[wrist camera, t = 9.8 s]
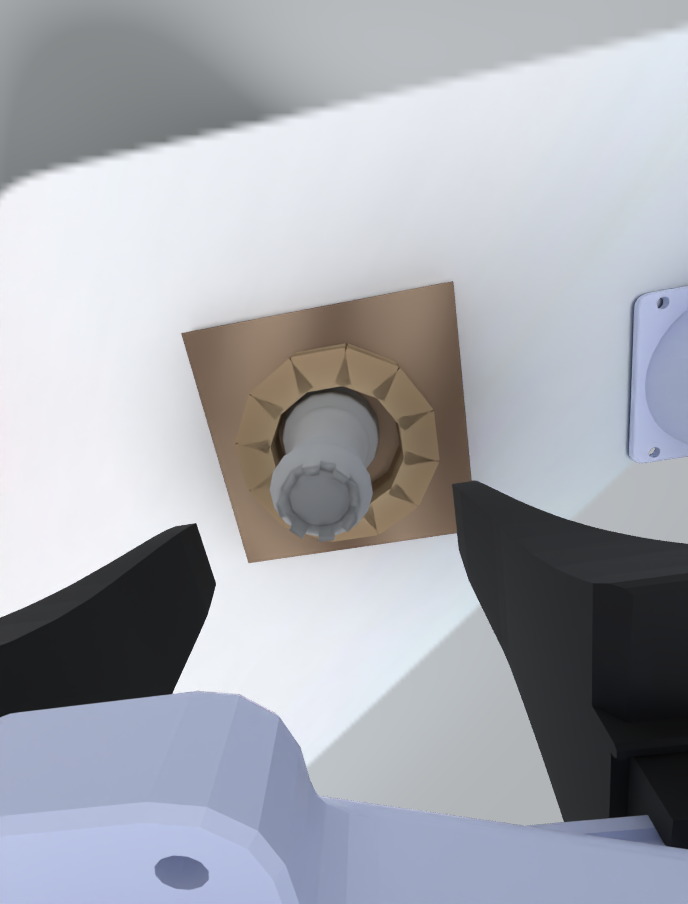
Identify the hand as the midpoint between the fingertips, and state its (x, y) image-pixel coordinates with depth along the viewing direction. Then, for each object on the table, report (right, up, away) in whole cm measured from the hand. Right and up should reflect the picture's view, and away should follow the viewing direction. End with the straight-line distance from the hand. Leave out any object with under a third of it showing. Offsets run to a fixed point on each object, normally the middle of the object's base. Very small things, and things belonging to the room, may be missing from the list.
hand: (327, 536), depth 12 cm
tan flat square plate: (0, +3, +10) cm, 10 cm away
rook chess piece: (0, +3, +9) cm, 9 cm away
